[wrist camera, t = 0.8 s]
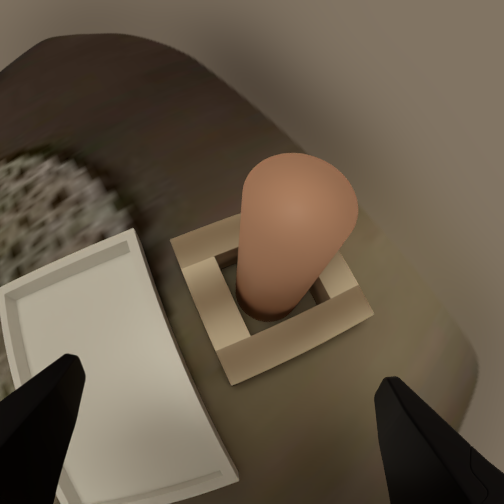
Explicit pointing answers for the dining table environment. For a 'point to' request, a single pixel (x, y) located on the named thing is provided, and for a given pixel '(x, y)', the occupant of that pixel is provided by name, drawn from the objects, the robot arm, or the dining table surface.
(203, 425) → the tray
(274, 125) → the dining table surface
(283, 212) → the dowel
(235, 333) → the holder
